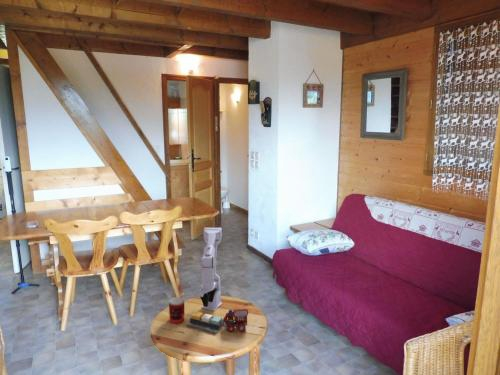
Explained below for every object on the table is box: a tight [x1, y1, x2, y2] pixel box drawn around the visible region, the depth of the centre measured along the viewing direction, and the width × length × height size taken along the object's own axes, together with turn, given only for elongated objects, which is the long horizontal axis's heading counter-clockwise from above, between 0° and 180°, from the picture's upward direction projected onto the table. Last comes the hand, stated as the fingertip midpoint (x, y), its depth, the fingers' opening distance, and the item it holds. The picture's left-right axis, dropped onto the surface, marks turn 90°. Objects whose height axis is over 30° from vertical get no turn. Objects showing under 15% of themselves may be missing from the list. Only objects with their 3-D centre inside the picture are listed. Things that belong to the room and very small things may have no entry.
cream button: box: [202, 313, 213, 323], centre depth 192 cm, size 4×4×2 cm
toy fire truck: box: [222, 308, 249, 333], centre depth 188 cm, size 7×12×10 cm, turn 95°
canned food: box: [168, 296, 186, 325], centre depth 195 cm, size 8×8×11 cm
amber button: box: [191, 311, 204, 320], centre depth 194 cm, size 4×4×2 cm
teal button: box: [211, 315, 223, 325], centre depth 190 cm, size 4×4×2 cm
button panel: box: [185, 313, 224, 335], centre depth 192 cm, size 12×17×3 cm
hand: (208, 304), depth 194 cm, fingers open, 5 cm apart
